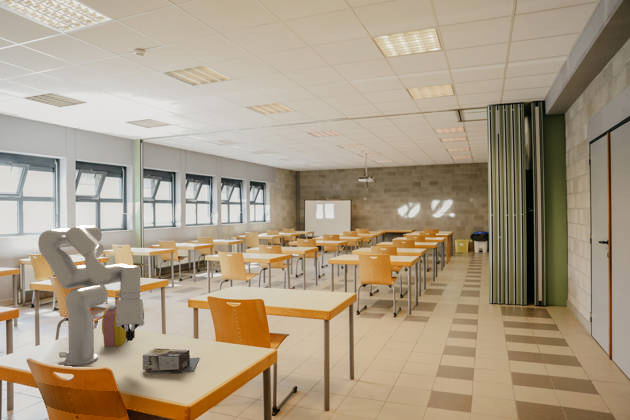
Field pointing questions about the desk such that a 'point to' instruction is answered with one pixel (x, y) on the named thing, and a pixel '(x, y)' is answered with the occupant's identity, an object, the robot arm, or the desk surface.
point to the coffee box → (166, 360)
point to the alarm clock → (112, 328)
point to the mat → (188, 369)
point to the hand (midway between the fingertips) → (130, 339)
